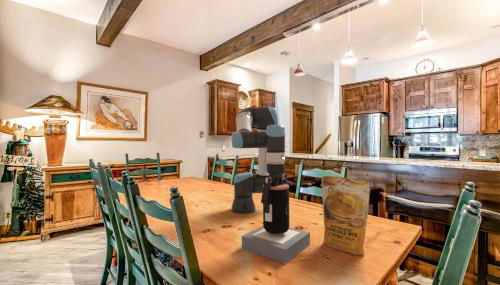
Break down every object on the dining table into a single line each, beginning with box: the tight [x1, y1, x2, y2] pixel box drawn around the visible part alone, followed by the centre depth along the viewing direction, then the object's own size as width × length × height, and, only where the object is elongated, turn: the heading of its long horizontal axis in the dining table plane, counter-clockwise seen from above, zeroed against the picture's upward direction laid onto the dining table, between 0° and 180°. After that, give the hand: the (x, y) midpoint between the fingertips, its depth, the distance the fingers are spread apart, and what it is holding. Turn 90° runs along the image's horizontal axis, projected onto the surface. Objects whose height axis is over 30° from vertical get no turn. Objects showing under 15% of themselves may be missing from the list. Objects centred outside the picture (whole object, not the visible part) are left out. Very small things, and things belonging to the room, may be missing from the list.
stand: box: [241, 225, 311, 265], centre depth 96 cm, size 20×20×5 cm
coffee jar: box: [262, 184, 290, 234], centre depth 96 cm, size 11×11×18 cm
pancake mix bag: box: [320, 175, 372, 256], centre depth 95 cm, size 7×19×28 cm, turn 45°
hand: (276, 217), depth 96 cm, fingers closed on coffee jar, 11 cm apart
